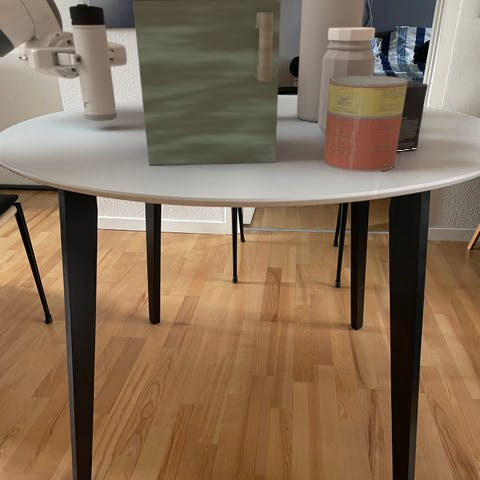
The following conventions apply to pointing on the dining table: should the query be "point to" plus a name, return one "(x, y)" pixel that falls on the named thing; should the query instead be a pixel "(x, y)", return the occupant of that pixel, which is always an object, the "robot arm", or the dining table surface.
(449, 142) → the dining table surface
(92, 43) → the travel mug
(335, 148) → the canned food
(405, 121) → the small box
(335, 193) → the dining table surface
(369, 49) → the jar
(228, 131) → the door
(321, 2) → the cylinder vase
